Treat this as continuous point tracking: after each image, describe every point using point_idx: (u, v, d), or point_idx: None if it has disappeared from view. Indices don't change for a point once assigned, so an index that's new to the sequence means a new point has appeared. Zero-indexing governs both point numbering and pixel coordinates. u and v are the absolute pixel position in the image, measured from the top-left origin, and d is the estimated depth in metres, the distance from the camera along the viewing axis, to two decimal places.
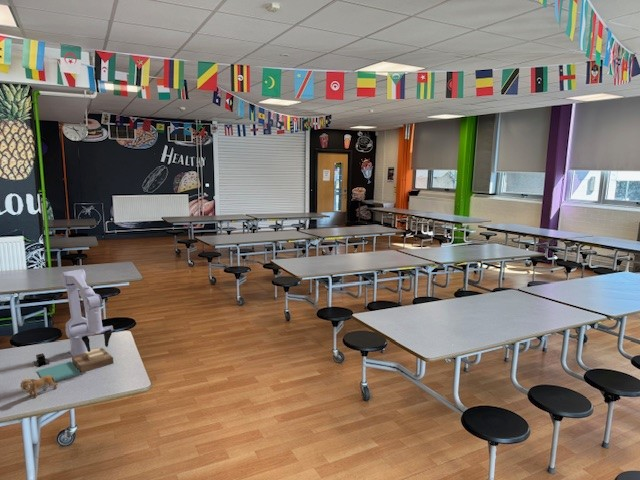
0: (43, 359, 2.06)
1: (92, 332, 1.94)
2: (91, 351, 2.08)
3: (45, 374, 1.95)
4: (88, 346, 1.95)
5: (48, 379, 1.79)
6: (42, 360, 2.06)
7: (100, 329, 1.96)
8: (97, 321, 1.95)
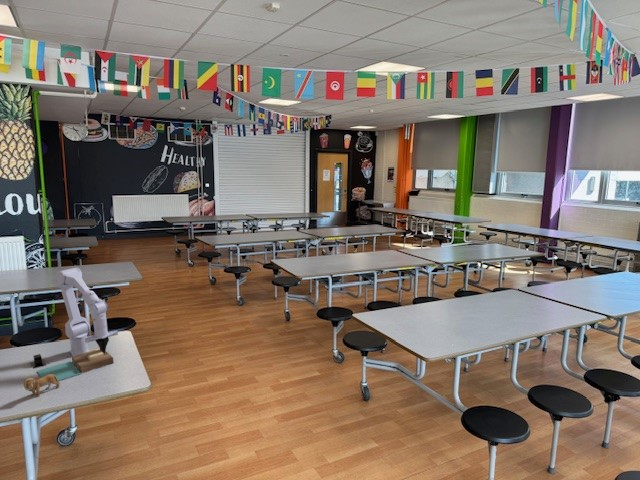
0: (40, 360, 2.05)
1: (98, 337, 2.05)
2: (91, 351, 2.08)
3: (45, 374, 1.95)
4: (102, 348, 2.07)
5: (51, 378, 1.80)
6: (39, 361, 2.05)
7: (105, 334, 2.07)
8: (104, 326, 2.06)
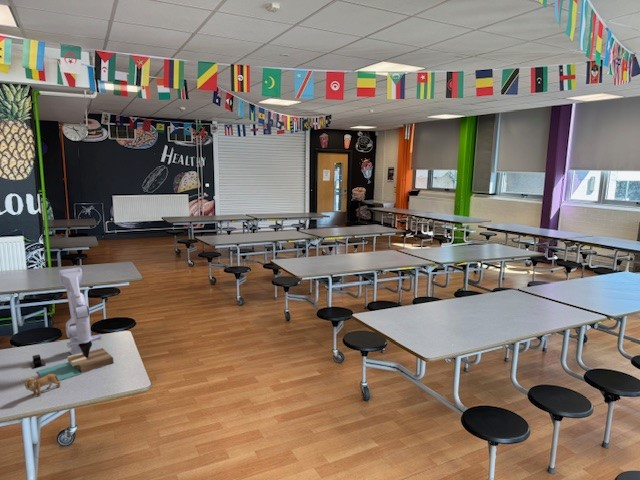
0: (39, 360, 2.05)
1: (80, 341, 2.00)
2: (74, 356, 2.02)
3: (45, 374, 1.95)
4: (85, 353, 2.02)
5: (51, 377, 1.81)
6: (38, 361, 2.05)
7: (88, 338, 2.02)
8: (84, 331, 2.00)
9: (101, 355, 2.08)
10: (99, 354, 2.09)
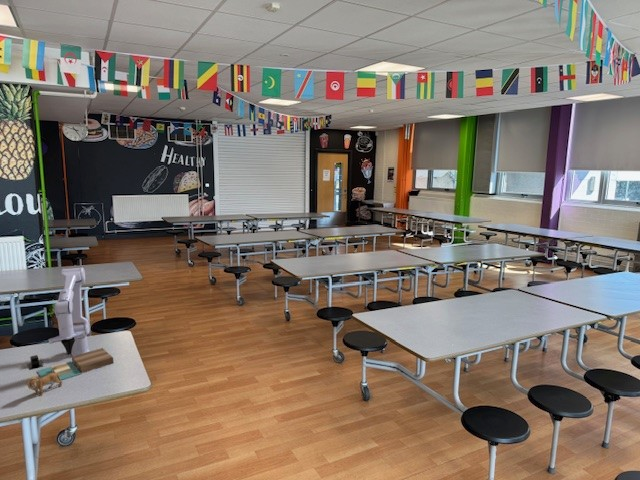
0: (37, 361, 2.04)
1: (63, 337, 1.94)
2: None
3: (45, 374, 1.95)
4: (67, 349, 1.97)
5: (53, 377, 1.81)
6: (35, 362, 2.04)
7: (71, 334, 1.96)
8: (64, 327, 1.94)
9: (101, 355, 2.08)
10: (99, 354, 2.09)
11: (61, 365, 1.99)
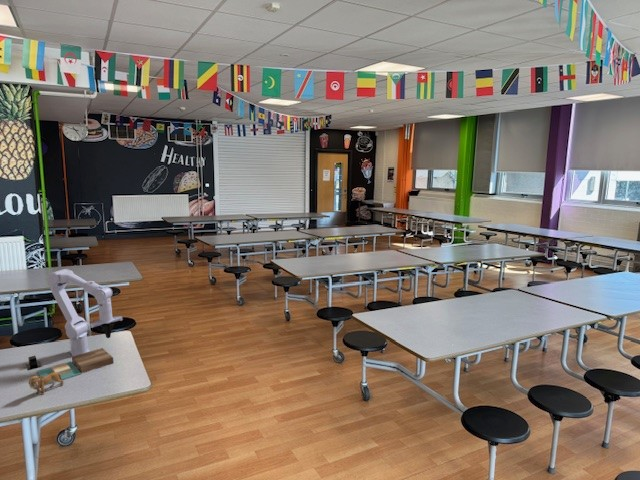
0: (35, 362, 2.04)
1: (103, 322, 2.09)
2: None
3: (45, 374, 1.95)
4: (107, 333, 2.12)
5: (55, 376, 1.82)
6: (34, 363, 2.03)
7: (110, 319, 2.11)
8: (110, 310, 2.11)
9: (101, 355, 2.08)
10: (99, 354, 2.09)
11: (61, 365, 1.99)
